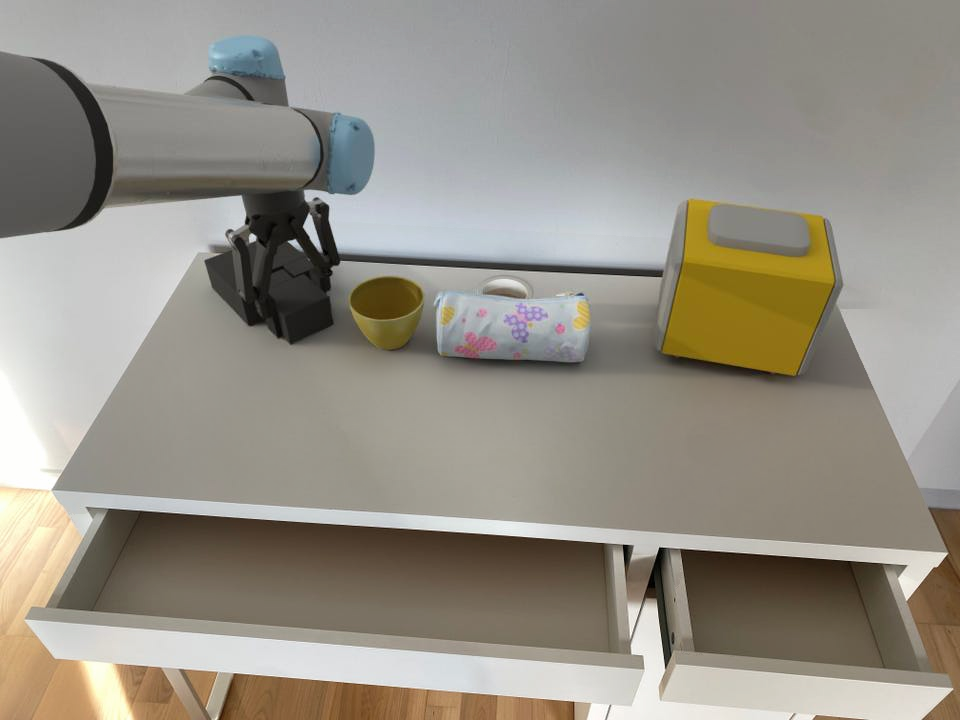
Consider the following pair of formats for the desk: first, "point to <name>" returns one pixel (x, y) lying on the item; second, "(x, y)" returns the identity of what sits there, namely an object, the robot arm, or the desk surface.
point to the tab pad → (299, 306)
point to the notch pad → (225, 280)
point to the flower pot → (387, 310)
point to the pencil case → (513, 326)
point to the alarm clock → (747, 286)
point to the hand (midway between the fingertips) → (299, 320)
